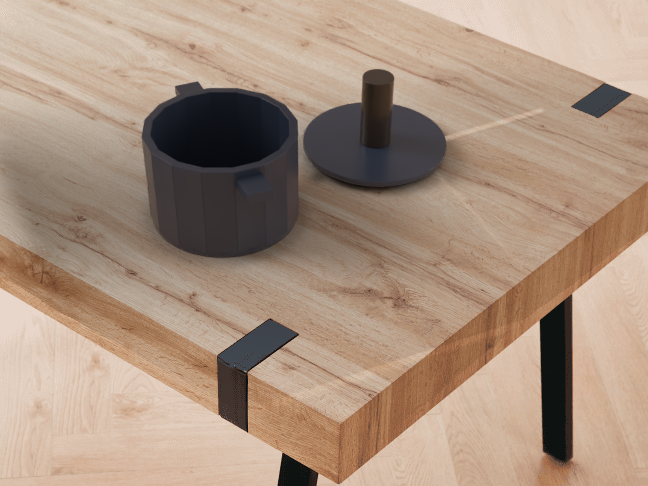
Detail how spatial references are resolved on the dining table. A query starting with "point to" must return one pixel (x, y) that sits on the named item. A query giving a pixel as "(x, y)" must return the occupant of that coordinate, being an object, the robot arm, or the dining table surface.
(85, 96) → the dining table surface
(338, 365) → the dining table surface
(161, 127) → the pot
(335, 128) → the lid
